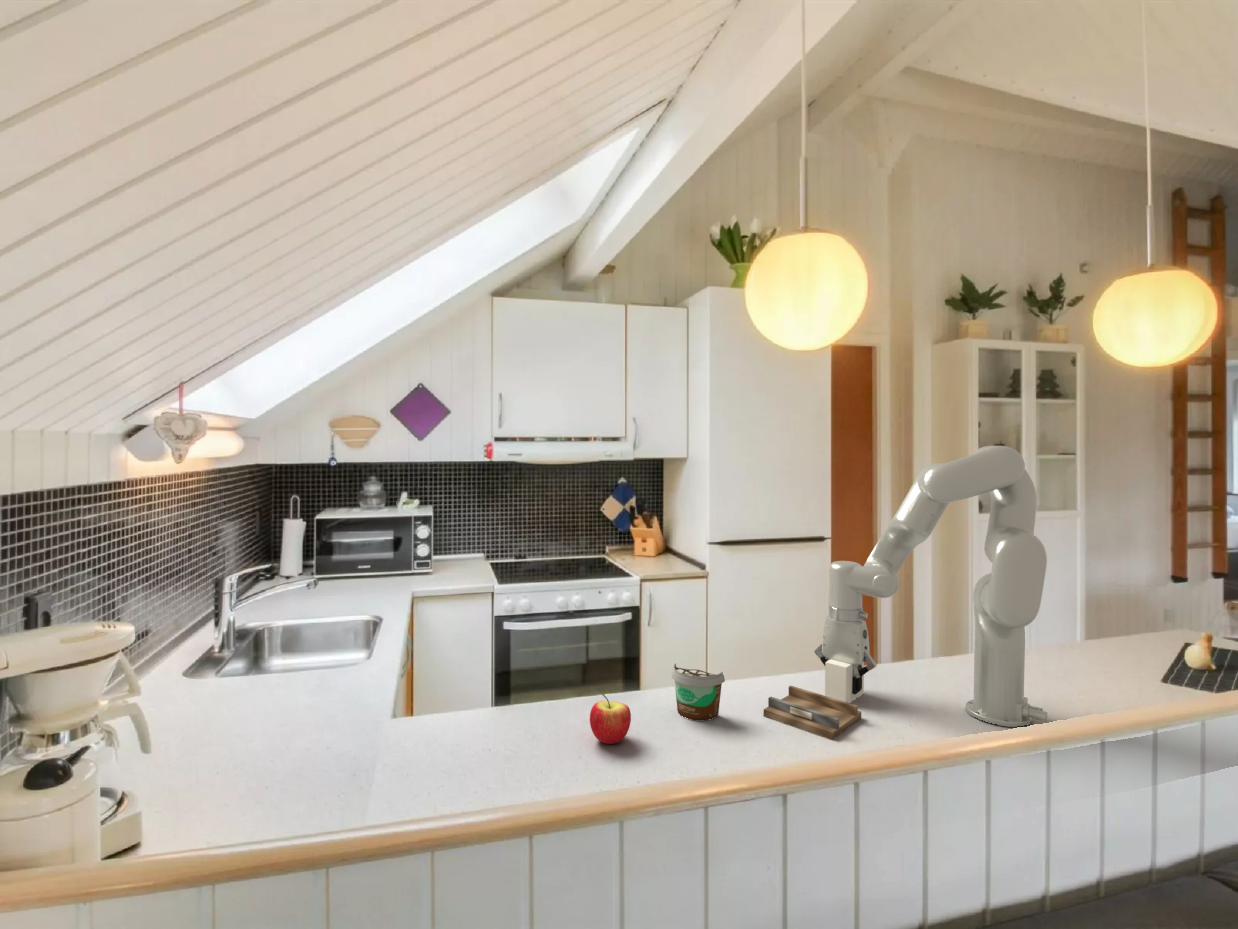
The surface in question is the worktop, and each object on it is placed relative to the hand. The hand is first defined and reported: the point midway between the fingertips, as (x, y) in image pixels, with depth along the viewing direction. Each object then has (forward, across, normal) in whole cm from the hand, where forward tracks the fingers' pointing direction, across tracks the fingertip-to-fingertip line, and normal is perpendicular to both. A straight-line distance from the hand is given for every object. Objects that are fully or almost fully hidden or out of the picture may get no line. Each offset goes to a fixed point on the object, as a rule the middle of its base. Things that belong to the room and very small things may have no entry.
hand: (844, 688), depth 149 cm
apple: (+2, +24, +55) cm, 60 cm away
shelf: (+2, 0, +16) cm, 16 cm away
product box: (+2, 0, 0) cm, 2 cm away
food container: (+2, +19, +34) cm, 39 cm away
